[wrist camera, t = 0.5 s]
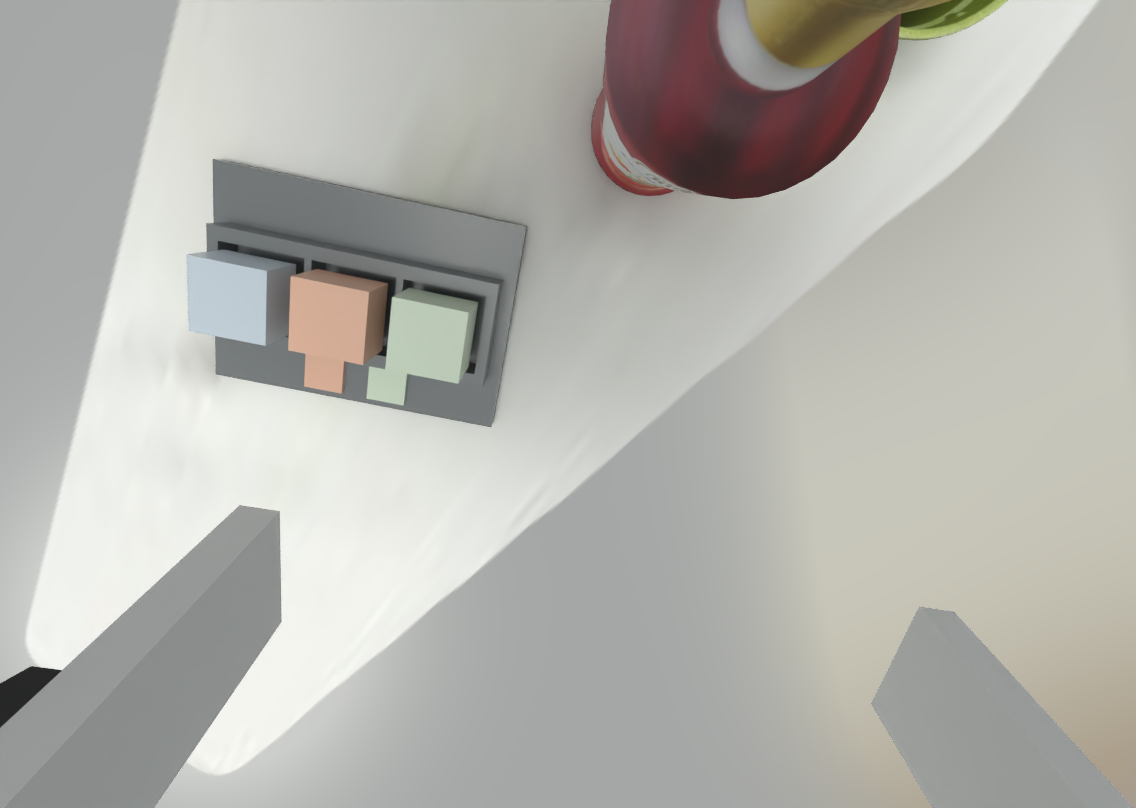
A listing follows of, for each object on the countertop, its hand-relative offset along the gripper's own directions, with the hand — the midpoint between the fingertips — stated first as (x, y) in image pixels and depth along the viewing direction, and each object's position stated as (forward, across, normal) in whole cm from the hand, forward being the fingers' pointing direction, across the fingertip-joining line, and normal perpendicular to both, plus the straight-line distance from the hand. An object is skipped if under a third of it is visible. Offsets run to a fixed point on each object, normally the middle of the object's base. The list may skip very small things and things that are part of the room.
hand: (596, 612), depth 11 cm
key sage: (+23, -8, -1) cm, 24 cm away
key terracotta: (+23, -13, 0) cm, 26 cm away
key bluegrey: (+23, -19, 0) cm, 29 cm away
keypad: (+26, -14, 0) cm, 29 cm away
